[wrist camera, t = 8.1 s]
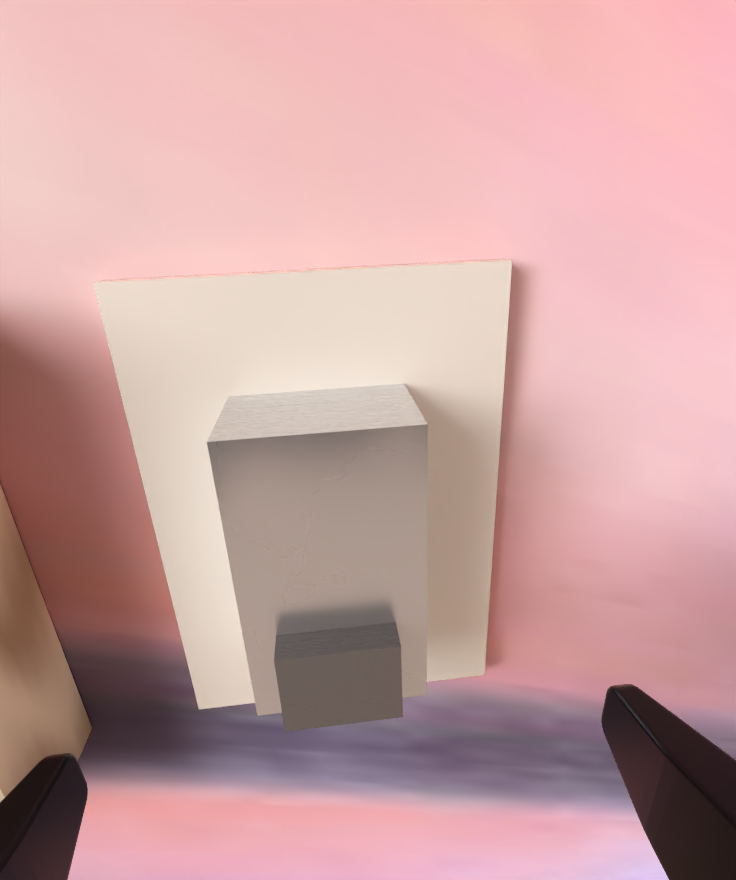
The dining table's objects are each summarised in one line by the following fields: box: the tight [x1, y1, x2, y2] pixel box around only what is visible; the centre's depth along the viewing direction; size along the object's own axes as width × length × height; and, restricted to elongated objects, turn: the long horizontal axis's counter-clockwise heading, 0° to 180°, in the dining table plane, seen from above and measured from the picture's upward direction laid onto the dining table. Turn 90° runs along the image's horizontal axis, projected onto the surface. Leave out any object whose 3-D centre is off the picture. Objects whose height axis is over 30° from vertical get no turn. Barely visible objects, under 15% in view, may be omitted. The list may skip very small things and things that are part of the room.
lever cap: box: [207, 384, 428, 732], centre depth 13 cm, size 8×5×4 cm, turn 2°
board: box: [93, 259, 512, 709], centre depth 15 cm, size 14×10×1 cm
